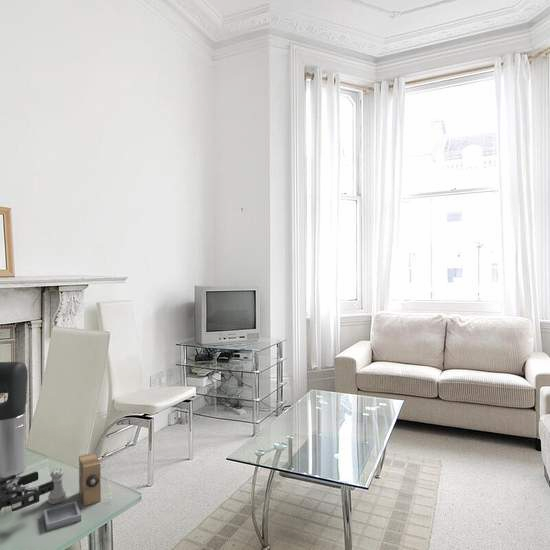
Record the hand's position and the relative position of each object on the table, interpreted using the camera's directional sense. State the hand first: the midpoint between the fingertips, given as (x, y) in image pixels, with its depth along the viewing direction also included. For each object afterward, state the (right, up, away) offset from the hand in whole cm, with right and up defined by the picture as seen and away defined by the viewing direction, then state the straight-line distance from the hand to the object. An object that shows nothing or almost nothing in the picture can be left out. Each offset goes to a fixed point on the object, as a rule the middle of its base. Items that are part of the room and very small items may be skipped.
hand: (45, 480), depth 110 cm
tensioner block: (+10, -6, +4) cm, 12 cm away
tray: (+7, -7, -6) cm, 12 cm away
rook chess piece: (+2, -7, +2) cm, 7 cm away
